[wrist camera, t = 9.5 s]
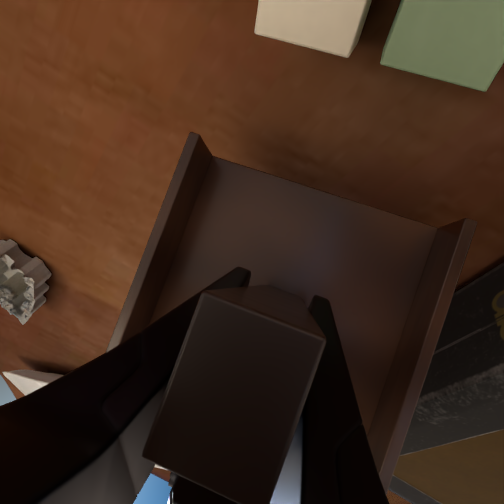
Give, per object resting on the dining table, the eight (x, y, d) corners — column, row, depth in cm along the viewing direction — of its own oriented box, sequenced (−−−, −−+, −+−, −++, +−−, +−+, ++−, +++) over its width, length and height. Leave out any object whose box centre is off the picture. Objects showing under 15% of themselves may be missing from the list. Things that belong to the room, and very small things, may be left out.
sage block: (485, 92, 12) (574, -54, 9) (379, 64, 13) (434, -81, 10) (469, 71, 15) (532, -45, 12) (382, 49, 16) (426, -67, 13)
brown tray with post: (354, 491, 15) (606, 1319, 3) (120, 386, 17) (-310, 648, 5) (442, 232, 16) (949, 69, 4) (207, 156, 18) (17, -125, 5)
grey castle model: (1, 229, 37) (-34, 251, 34) (59, 270, 38) (30, 295, 35) (-4, 273, 44) (-33, 295, 41) (46, 307, 45) (20, 330, 42)
